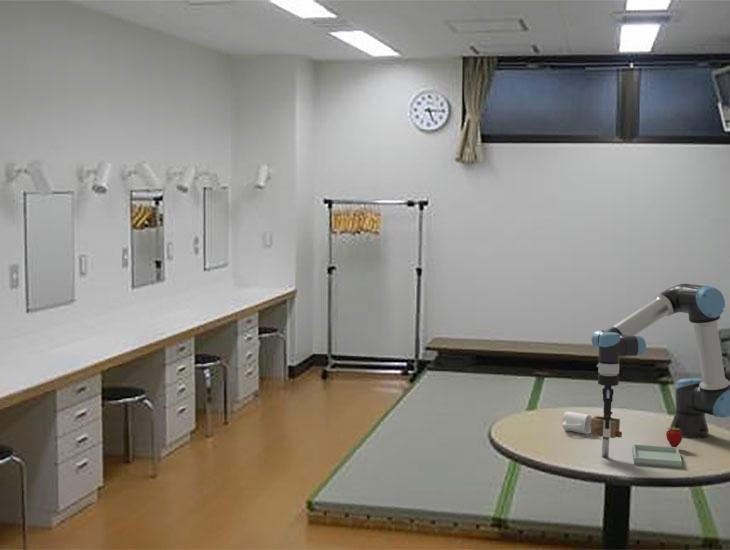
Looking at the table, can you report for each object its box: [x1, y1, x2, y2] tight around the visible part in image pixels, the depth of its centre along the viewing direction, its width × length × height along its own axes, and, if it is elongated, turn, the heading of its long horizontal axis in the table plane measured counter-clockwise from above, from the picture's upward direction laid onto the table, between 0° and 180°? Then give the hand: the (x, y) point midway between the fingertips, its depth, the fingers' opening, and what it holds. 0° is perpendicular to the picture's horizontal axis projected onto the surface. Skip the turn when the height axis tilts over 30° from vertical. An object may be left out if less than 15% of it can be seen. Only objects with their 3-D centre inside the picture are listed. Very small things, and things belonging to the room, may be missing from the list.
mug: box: [561, 411, 593, 435], centre depth 389 cm, size 12×10×8 cm
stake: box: [601, 436, 610, 459], centre depth 353 cm, size 5×2×11 cm, turn 76°
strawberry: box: [665, 424, 684, 448], centre depth 366 cm, size 6×8×10 cm
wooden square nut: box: [590, 415, 623, 439], centre depth 352 cm, size 11×6×6 cm, turn 57°
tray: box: [631, 443, 683, 469], centre depth 352 cm, size 17×20×2 cm
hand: (606, 434), depth 353 cm, fingers closed on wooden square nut, 7 cm apart
